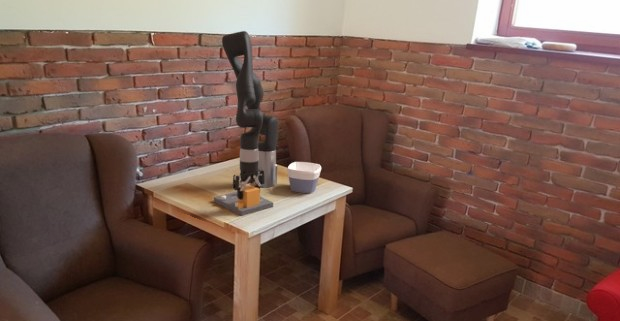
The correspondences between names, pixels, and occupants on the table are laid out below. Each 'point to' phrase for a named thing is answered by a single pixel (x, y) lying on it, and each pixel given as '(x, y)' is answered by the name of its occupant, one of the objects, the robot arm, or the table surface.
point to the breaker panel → (241, 204)
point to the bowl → (303, 176)
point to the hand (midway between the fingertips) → (248, 196)
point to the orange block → (250, 196)
